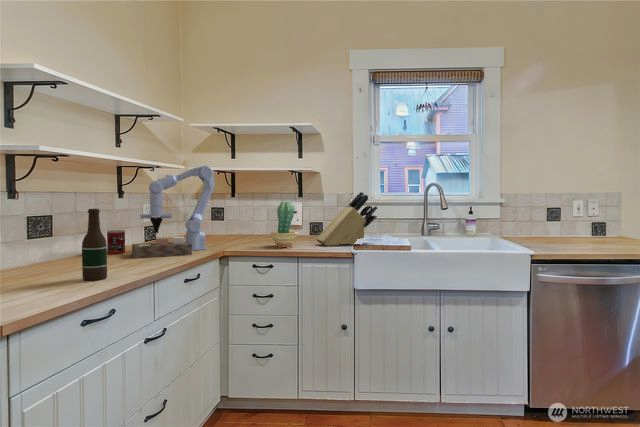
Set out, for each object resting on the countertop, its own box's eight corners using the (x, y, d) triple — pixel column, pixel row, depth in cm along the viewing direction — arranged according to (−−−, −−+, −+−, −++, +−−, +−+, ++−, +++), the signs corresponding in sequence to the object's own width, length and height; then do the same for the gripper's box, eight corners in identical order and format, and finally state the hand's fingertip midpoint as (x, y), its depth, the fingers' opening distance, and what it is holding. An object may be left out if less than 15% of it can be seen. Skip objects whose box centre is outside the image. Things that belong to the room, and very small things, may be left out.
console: (186, 251, 208) (186, 241, 208) (191, 254, 197) (191, 243, 197) (132, 254, 197) (132, 243, 196) (134, 258, 185) (134, 246, 185)
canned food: (105, 254, 195) (105, 231, 195) (109, 252, 203) (109, 230, 202) (123, 254, 197) (123, 231, 197) (126, 251, 205) (126, 229, 204)
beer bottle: (112, 276, 145) (110, 208, 144) (101, 281, 138) (99, 209, 136) (89, 276, 145) (88, 208, 144) (77, 281, 137) (75, 209, 136)
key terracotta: (166, 245, 200) (166, 237, 200) (168, 246, 196) (168, 238, 195) (155, 245, 198) (155, 237, 197) (157, 247, 193) (157, 238, 193)
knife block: (378, 244, 243) (379, 191, 242) (323, 246, 230) (323, 191, 228) (369, 242, 254) (369, 191, 252) (315, 244, 240) (316, 191, 239)
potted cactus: (302, 247, 226) (302, 201, 224) (276, 249, 219) (276, 201, 217) (291, 244, 239) (291, 201, 238) (266, 245, 232) (266, 201, 231)
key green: (150, 252, 197) (150, 244, 196) (151, 253, 192) (151, 245, 192) (138, 253, 194) (138, 244, 194) (139, 254, 190) (139, 245, 190)
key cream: (182, 244, 204) (182, 236, 203) (184, 245, 199) (184, 237, 199) (172, 245, 201) (172, 236, 201) (173, 246, 197) (173, 237, 197)
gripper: (141, 205, 199) (141, 234, 199) (172, 205, 206) (172, 232, 206) (139, 205, 205) (140, 232, 206) (170, 205, 212) (170, 231, 213)
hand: (156, 232), depth 206 cm, fingers closed
